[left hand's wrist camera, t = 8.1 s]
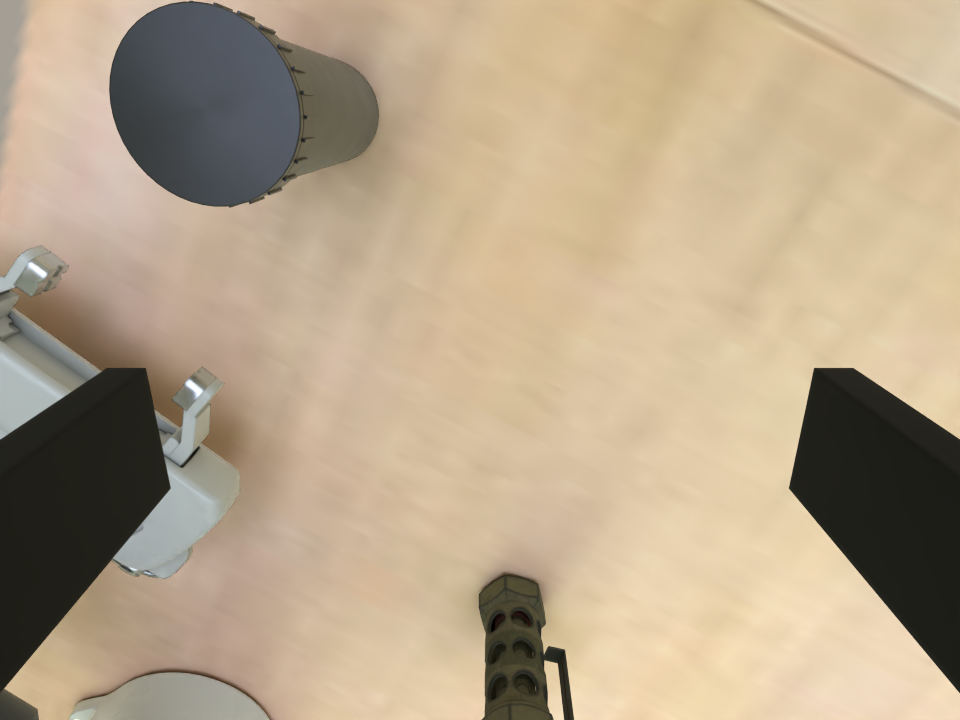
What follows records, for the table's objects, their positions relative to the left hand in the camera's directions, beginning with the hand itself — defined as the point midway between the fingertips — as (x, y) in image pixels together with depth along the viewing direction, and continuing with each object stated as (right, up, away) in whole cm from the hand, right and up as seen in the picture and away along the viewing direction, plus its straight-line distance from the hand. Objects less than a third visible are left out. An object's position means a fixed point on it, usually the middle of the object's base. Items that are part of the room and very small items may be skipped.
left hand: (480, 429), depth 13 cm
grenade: (+3, -17, +34) cm, 38 cm away
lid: (-8, +9, +7) cm, 14 cm away
